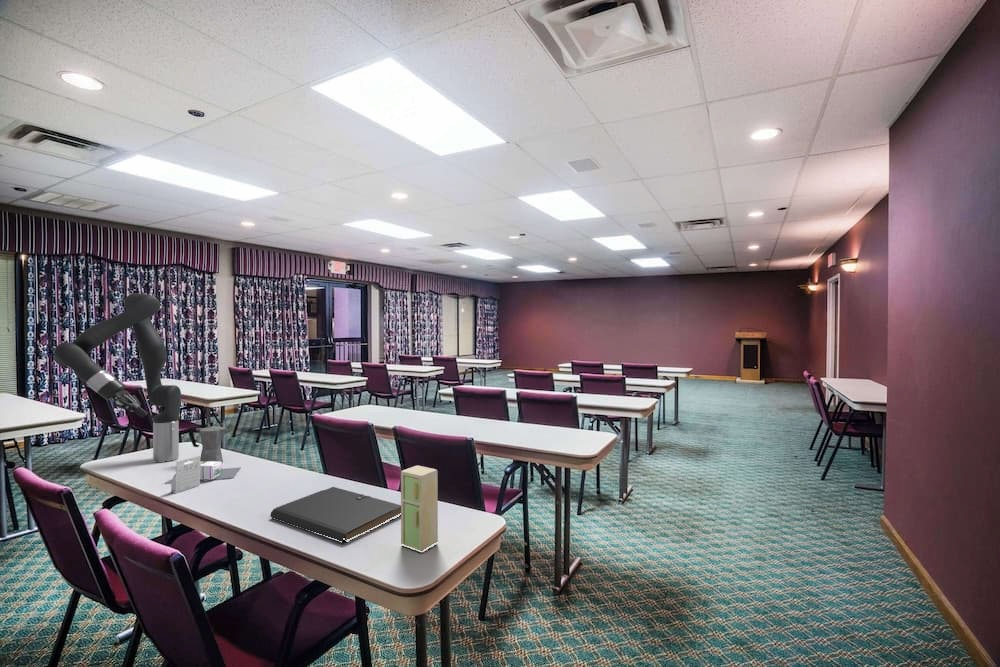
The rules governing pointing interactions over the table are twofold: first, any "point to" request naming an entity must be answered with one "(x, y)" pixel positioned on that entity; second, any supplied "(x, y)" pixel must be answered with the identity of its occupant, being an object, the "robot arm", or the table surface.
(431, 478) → the toy refrigerator
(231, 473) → the mat
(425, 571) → the table surface
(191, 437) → the coffeepot
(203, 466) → the syrup box
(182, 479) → the ink box
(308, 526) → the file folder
